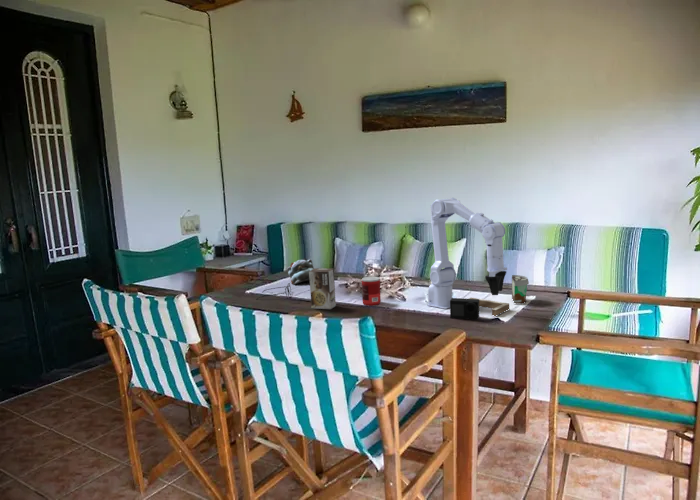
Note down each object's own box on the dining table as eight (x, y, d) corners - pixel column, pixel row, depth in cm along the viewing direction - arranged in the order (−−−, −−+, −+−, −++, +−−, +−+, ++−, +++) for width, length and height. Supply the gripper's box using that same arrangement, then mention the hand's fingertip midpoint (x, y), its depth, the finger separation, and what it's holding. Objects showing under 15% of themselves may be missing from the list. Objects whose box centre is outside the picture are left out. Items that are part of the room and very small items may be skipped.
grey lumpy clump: (288, 285, 266) (281, 260, 270) (294, 289, 278) (287, 265, 282) (316, 276, 265) (308, 251, 269) (321, 280, 277) (314, 256, 281)
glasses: (287, 299, 241) (285, 288, 240) (255, 304, 241) (253, 293, 240) (291, 292, 255) (289, 282, 254) (261, 296, 255) (259, 286, 255)
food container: (530, 305, 213) (530, 281, 211) (514, 305, 214) (514, 281, 212) (526, 297, 224) (526, 274, 223) (511, 297, 226) (511, 274, 224)
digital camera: (449, 319, 198) (449, 301, 197) (451, 315, 203) (451, 297, 202) (477, 320, 195) (477, 302, 194) (479, 316, 200) (479, 298, 199)
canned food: (383, 301, 228) (382, 276, 226) (376, 306, 220) (375, 280, 219) (367, 300, 231) (366, 276, 229) (359, 305, 224) (358, 279, 222)
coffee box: (336, 305, 225) (334, 268, 222) (330, 309, 219) (329, 271, 216) (316, 304, 228) (314, 267, 225) (310, 308, 222) (308, 270, 219)
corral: (456, 309, 210) (456, 303, 210) (471, 303, 218) (471, 297, 218) (495, 316, 199) (495, 309, 198) (509, 310, 207) (509, 303, 206)
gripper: (502, 258, 184) (504, 297, 185) (509, 253, 197) (511, 289, 198) (482, 259, 187) (484, 296, 188) (490, 253, 200) (492, 289, 201)
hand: (497, 292), depth 194 cm, fingers open, 7 cm apart
